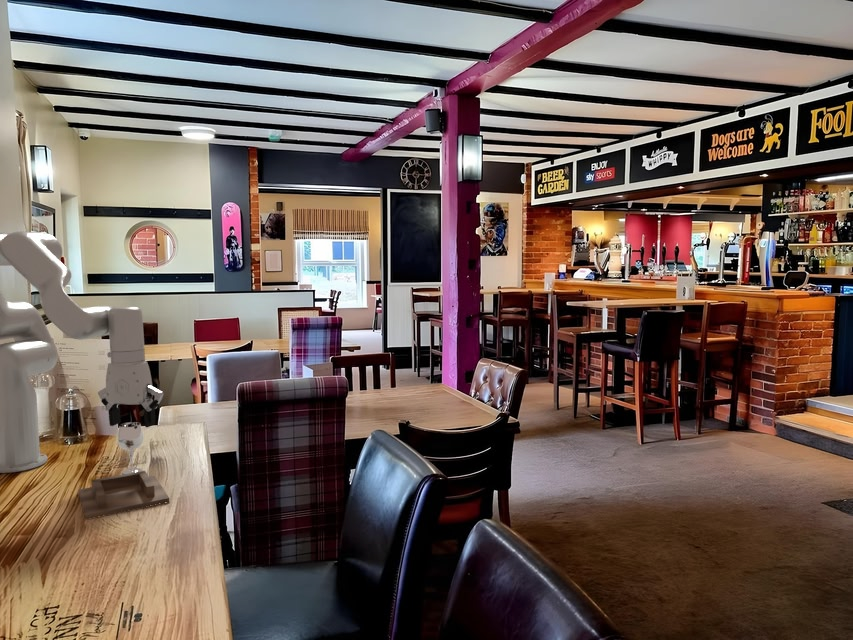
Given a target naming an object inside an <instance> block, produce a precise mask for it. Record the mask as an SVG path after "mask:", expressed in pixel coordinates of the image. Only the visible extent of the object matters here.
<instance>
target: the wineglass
mask: <svg viewBox="0 0 853 640" xmlns="http://www.w3.org/2000/svg"><path fill="white" fill-rule="evenodd" d="M116 439H117V444H118V447H120V448H121V449H122V450H126V451H129V452H128V456H129V459H130V466H129V468H126V469H124V470H122V471H121V475H124V474H129V473H135V472H141V471H143V470H142V468H140V467H134V466H133V458H134V451H133V450H137V449H138V448H140V447H141V446H142V444H143V442H144V432H143V427H142V425H141V423H140V422H137V421H134V422H133V421H132V422H131V421H130V422H124V423H121V424H119V426H118V430H117V438H116Z"/></svg>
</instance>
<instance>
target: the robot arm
mask: <svg viewBox="0 0 853 640" xmlns="http://www.w3.org/2000/svg"><path fill="white" fill-rule="evenodd" d="M62 256H63V248H62V244H61V242H60V241H59V240H58V239H57V238H56V237H55V236H53V235H51V234H49V233H46V232H40V231H39V232H38V231H37V232H36V231H35V232H34V231H14V232H10V233H9V232H0V266H3V267H4V266H11V267H13V268H14V269H15V270H16V271H17V272H18V273H19V274H20V275H21V276H22V277H23V278H24V279H25V280H26V281H27V282H29V284H30V285H31V286H32V287H33V288H34V289H36V291H37V292H38V293H39V302H40V305H41V308H42V310H43V313H44V315H45V317H47V318H48V319H49V321H50V322H51V324H54V326H55V327H56V328H57V329H59V330H60V331H61V332H62V333H63V334H64V335H66V336H67V337H70V338H71V339H74V340H79V341H80V340H82V341H83V340H88V339H93V338H99V337H105V336H109V348H110V349H109V350H110V351H109V352H107V358H109V359H110V362H109V363H107V369H106V375H105V387H103V388H102V389H101V390H99V391H97V395H98V397H99V399H100V402H101V403H102V404H103V406H104V407H105V410H107V411H108V421H109V426H110V427H114V426H116V425H120V423H121V422H122V421H121V419H122V418H121V408H120V407H118V406H119V405H141V406H142V408H144V409H145V410H144V411H143V416H144V417H143V419H144V420H143V421H144V426H145V428H150V427H152V426H154V425H155V424H156V409H157V408H158V406H160V404H161V403H162V399H163V398H164V397H163V396H164V392H163V391H162V390H160V389H158V388H156V387H155V386H153V381H152V380H153V379H152V375H151V370H150V366H149V364H148V361H146V354H145V353H146V352H145V337H144V336H145V334H144V320H143V319H144V318H143V312H142V309H141V308H139V306H138V307H137V306H111V305H96V306H95V305H94V306H86V307H80V306H79V305H78V304H77V303H76V302H75V301H74V300H73V299H72V298H71V297H70V296H69V295H68V293H67V292H66V291H65V288H66V286H67V285H68V284H69V283H70V282H71V278H72V271H71V270H70V269H69V268H68V267H67V266H66V265H65V264H64V263H63V262H62V261H61V259H62ZM8 339H13V341H10V342H5V343H1V344H0V474H7V473H18V472H24V471H27V470H32V469H34V468H37V467H40V466H43V465H44V464H45V463H46V462H48V456H47V454H45V453H43V452H42V453H41V452H40V451H41V449H40V434H39V433H40V432H39V430H40V429H39V414H38V399H37V391H36V389H35V387H34V386H33V384H32V382H31V381H30V378H31V377H33V376H36V375H37V376H38V375H41V374H44V373H48V372H49V371H51V370H52V369H54V367H55V366H56V365H57V363H58V358H59V356H58V355H59V354H58V350H57V347H56V344H55V342H54V340H53V337H52V336H51V333H50V331H49V329H48V326H47V325H46V323H45V321H44V319H43V317H42V315H41V313H40V311H39V310H38V309H37V308H36V307H35V306H34V305H32V304H31V303H30V302H26V301H24V300H23V301H22V300H9V301H8V300H6V298H5V297H4V295H3V293H2V291H1V290H0V341H1V340H8ZM29 377H30V378H29ZM153 397H154V399H153Z"/></svg>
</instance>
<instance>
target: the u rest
mask: <svg viewBox="0 0 853 640" xmlns="http://www.w3.org/2000/svg"><path fill="white" fill-rule="evenodd" d="M78 496H79V500H80V503H82V504H81V507H82V510H84V511H83V514H85V515H84V518H85V520H86V519H87V520H90V519H89V518H92V519H94V518H93V517H96V518H99V517H98V516H101V517H104V516H103V515H106V516H110V515H109V514H111V515H115V514H114V513H116V514H119V512H121V513H124V511H125V512H129V511H128V510H130V511H134V510H133V509H135V510H138V509H137V508H140V509H143V508H142V507H145V508H147V507H146V506H149V507H151V506H150V505H154V506H156V505H155V504H159V503H164V504H166V503H165V502H169V503H170V497H169V495H168V494H167V492H166V491H165V489H164V488H163V486H162V484H161V483H160V481H159V480H158V478H157V477H156V475H152V476H149V475H148V472H146V470H142V471H141V472H135V473H129V474H119V475H113V476H107V477H102V478H96V479H95V478H94V479H92V480H91V487H86V488H79V489H78ZM159 505H160V504H159Z"/></svg>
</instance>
